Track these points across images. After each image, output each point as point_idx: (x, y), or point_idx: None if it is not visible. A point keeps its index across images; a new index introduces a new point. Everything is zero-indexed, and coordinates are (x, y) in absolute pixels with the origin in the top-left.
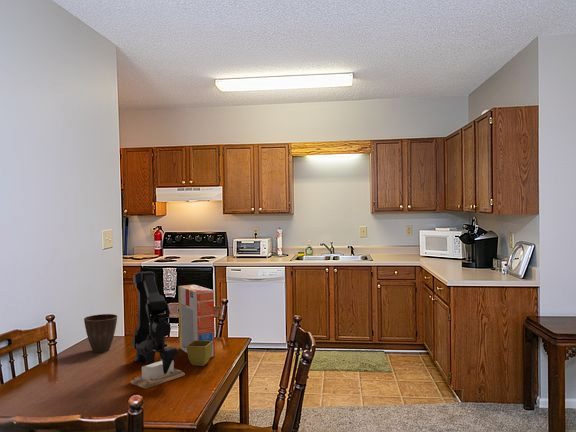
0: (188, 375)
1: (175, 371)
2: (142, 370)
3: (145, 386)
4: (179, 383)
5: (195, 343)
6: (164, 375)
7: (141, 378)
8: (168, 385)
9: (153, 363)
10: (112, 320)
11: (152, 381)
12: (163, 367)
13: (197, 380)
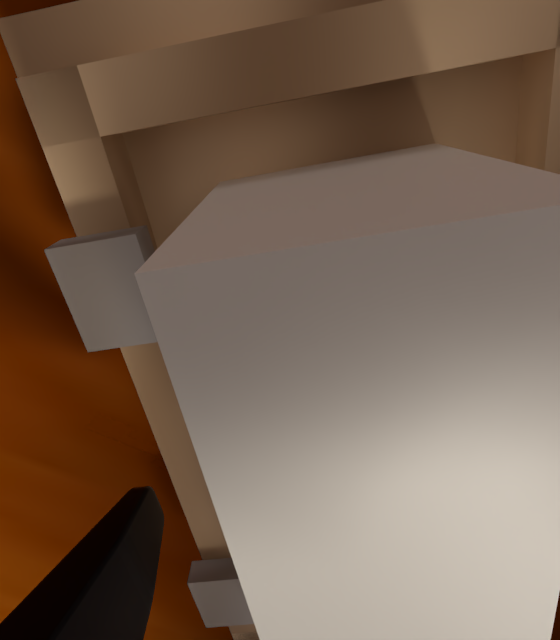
0: None
1: (202, 611)
2: (493, 177)
3: (19, 17)
4: (7, 482)
5: None
6: None
7: None
8: (4, 373)
9: (534, 601)
10: None
11: (75, 216)
12: (48, 608)
13: (2, 607)
